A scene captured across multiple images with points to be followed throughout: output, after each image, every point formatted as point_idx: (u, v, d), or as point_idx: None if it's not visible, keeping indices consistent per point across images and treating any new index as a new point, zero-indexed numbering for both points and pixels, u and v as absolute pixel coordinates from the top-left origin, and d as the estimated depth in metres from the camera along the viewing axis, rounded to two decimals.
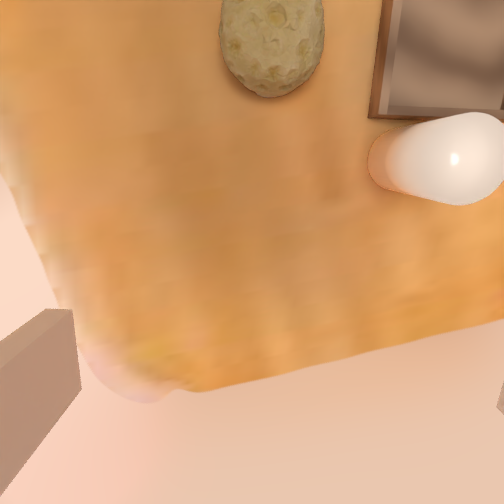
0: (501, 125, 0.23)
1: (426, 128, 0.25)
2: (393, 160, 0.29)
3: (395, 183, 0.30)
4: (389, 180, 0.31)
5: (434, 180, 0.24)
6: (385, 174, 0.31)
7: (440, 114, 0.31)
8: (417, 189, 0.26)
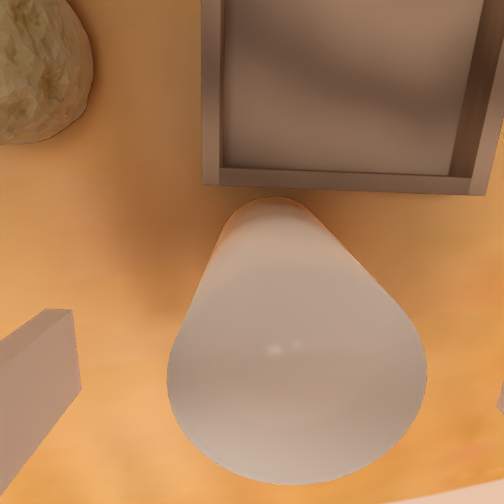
0: (387, 302, 0.07)
1: (212, 273, 0.09)
2: None
3: None
4: None
5: (214, 432, 0.09)
6: None
7: (325, 185, 0.16)
8: None
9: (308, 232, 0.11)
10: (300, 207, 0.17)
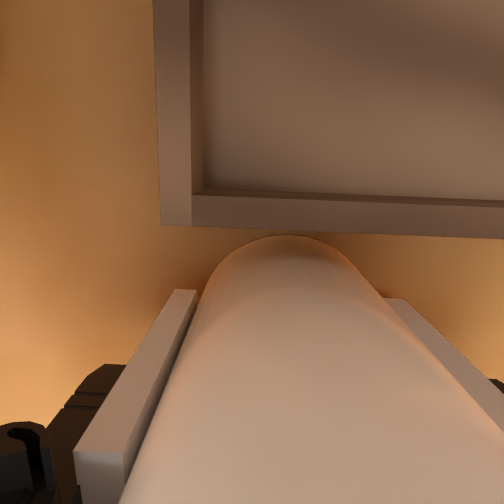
0: None
1: None
2: None
3: None
4: None
5: None
6: None
7: (386, 226, 0.09)
8: None
9: (420, 418, 0.04)
10: (336, 260, 0.10)
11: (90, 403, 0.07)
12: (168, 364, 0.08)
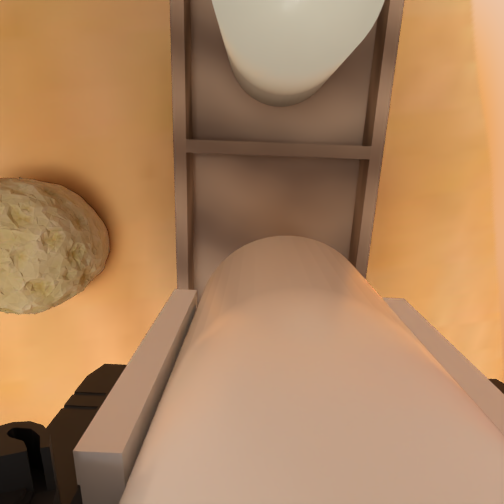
0: None
1: None
2: None
3: None
4: None
5: None
6: None
7: None
8: None
9: (419, 420, 0.04)
10: (336, 261, 0.10)
11: (90, 403, 0.07)
12: (168, 364, 0.08)
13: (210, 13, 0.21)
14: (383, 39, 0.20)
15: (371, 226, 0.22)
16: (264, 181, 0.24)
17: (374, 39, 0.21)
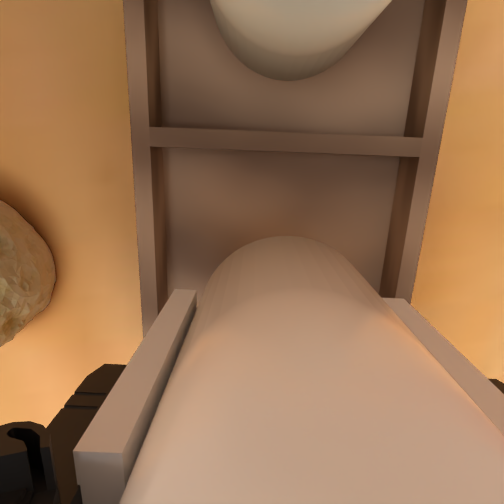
0: None
1: None
2: None
3: None
4: None
5: None
6: None
7: None
8: None
9: (420, 421, 0.04)
10: (336, 262, 0.10)
11: (90, 403, 0.07)
12: (168, 364, 0.08)
13: None
14: None
15: (417, 253, 0.16)
16: (264, 187, 0.17)
17: None
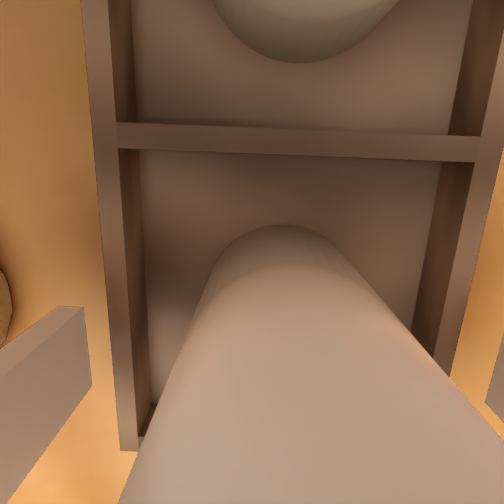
0: None
1: (160, 454, 0.04)
2: None
3: None
4: None
5: None
6: None
7: None
8: None
9: (361, 332, 0.05)
10: (323, 244, 0.11)
11: None
12: None
13: None
14: None
15: (468, 286, 0.12)
16: (269, 200, 0.13)
17: None
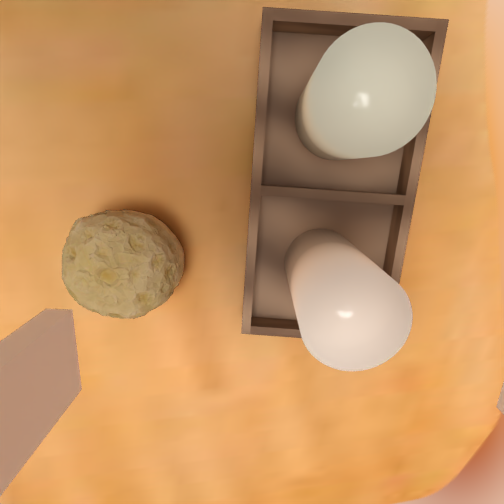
0: (396, 284, 0.18)
1: (314, 272, 0.20)
2: (291, 288, 0.24)
3: None
4: None
5: (317, 342, 0.19)
6: None
7: None
8: None
9: (356, 253, 0.22)
10: (341, 236, 0.28)
11: None
12: None
13: (283, 89, 0.27)
14: None
15: (402, 257, 0.28)
16: (316, 217, 0.30)
17: None
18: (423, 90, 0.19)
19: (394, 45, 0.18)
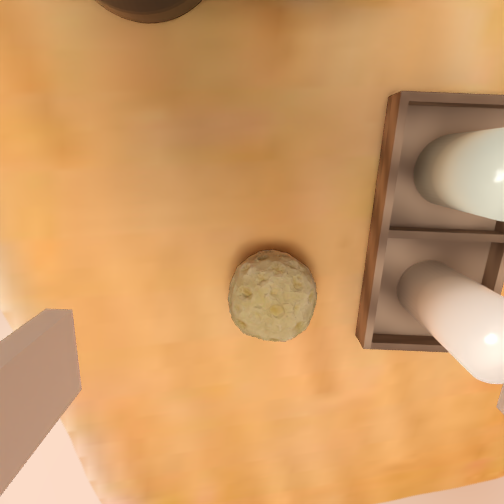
0: None
1: (465, 308, 0.26)
2: (429, 316, 0.30)
3: (429, 332, 0.31)
4: (423, 325, 0.32)
5: (475, 364, 0.25)
6: (419, 319, 0.32)
7: (416, 349, 0.36)
8: None
9: (490, 291, 0.28)
10: (453, 269, 0.34)
11: None
12: None
13: (405, 150, 0.33)
14: None
15: (502, 283, 0.34)
16: (426, 251, 0.35)
17: None
18: None
19: None
